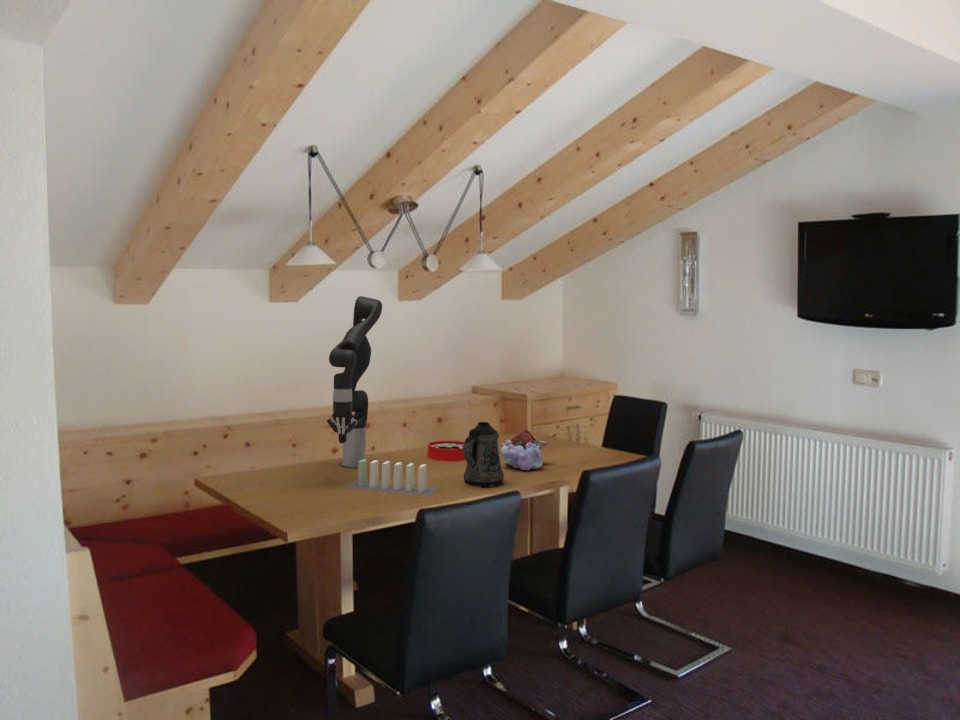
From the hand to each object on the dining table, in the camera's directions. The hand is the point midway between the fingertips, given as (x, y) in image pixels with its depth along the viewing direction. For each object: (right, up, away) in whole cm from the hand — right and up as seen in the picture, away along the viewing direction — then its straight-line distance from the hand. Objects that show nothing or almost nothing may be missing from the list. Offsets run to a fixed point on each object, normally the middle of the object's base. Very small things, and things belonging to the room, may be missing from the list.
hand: (342, 442), depth 324 cm
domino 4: (+22, -17, -4) cm, 29 cm away
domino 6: (+32, -18, -7) cm, 37 cm away
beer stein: (+56, -18, +9) cm, 59 cm away
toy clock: (+40, -13, +58) cm, 72 cm away
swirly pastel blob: (+74, -15, +41) cm, 86 cm away
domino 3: (+18, -17, -3) cm, 25 cm away
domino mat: (+20, -18, -4) cm, 27 cm away
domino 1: (+8, -17, -1) cm, 19 cm away
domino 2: (+13, -17, -2) cm, 21 cm away
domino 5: (+27, -18, -6) cm, 33 cm away
